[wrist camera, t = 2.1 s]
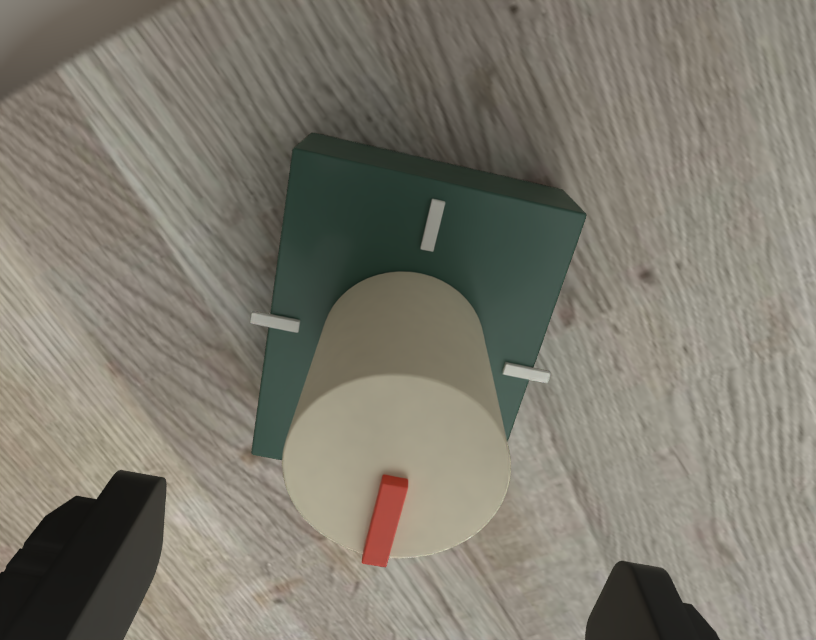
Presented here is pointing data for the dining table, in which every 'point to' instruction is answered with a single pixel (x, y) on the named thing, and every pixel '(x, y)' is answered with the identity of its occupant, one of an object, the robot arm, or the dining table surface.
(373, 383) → the dial
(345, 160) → the dial panel
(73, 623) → the robot arm
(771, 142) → the dining table surface
